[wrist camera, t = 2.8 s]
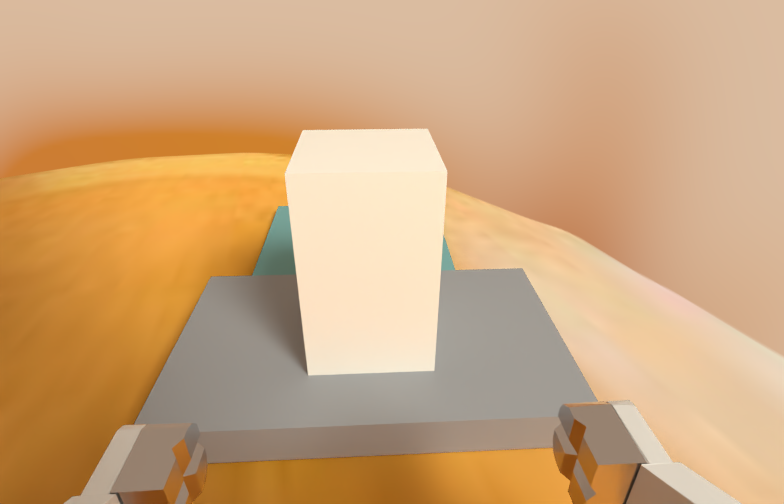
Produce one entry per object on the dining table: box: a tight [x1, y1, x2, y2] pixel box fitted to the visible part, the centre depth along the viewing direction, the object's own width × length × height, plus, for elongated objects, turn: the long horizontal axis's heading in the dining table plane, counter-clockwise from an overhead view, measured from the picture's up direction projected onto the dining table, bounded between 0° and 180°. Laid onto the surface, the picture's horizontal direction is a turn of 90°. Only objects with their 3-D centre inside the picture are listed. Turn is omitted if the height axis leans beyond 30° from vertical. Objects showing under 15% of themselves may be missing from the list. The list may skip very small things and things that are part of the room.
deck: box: [134, 268, 598, 463], centre depth 25 cm, size 20×12×2 cm, turn 93°
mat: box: [252, 206, 455, 276], centre depth 37 cm, size 14×13×1 cm
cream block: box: [285, 129, 447, 375], centre depth 22 cm, size 6×6×10 cm
